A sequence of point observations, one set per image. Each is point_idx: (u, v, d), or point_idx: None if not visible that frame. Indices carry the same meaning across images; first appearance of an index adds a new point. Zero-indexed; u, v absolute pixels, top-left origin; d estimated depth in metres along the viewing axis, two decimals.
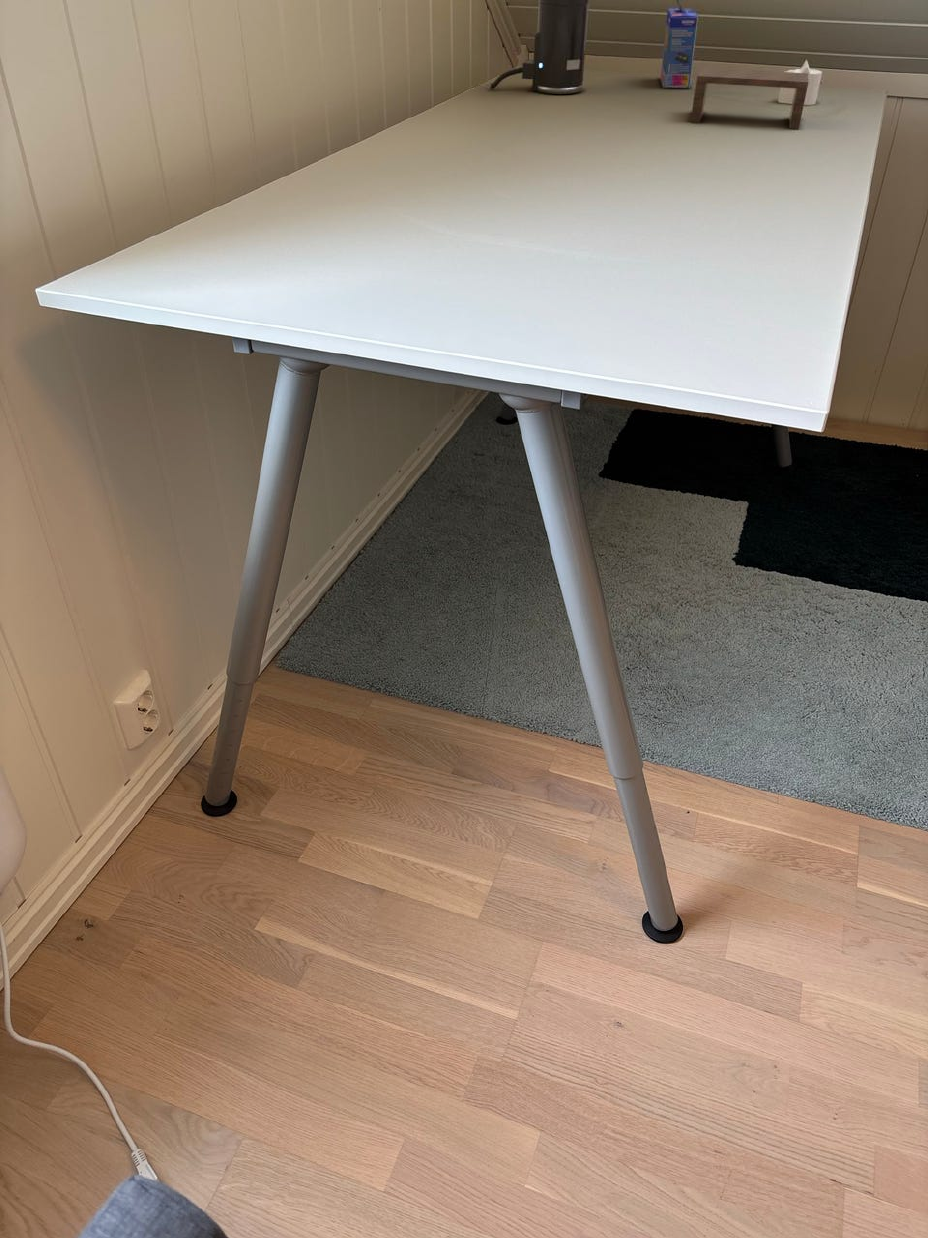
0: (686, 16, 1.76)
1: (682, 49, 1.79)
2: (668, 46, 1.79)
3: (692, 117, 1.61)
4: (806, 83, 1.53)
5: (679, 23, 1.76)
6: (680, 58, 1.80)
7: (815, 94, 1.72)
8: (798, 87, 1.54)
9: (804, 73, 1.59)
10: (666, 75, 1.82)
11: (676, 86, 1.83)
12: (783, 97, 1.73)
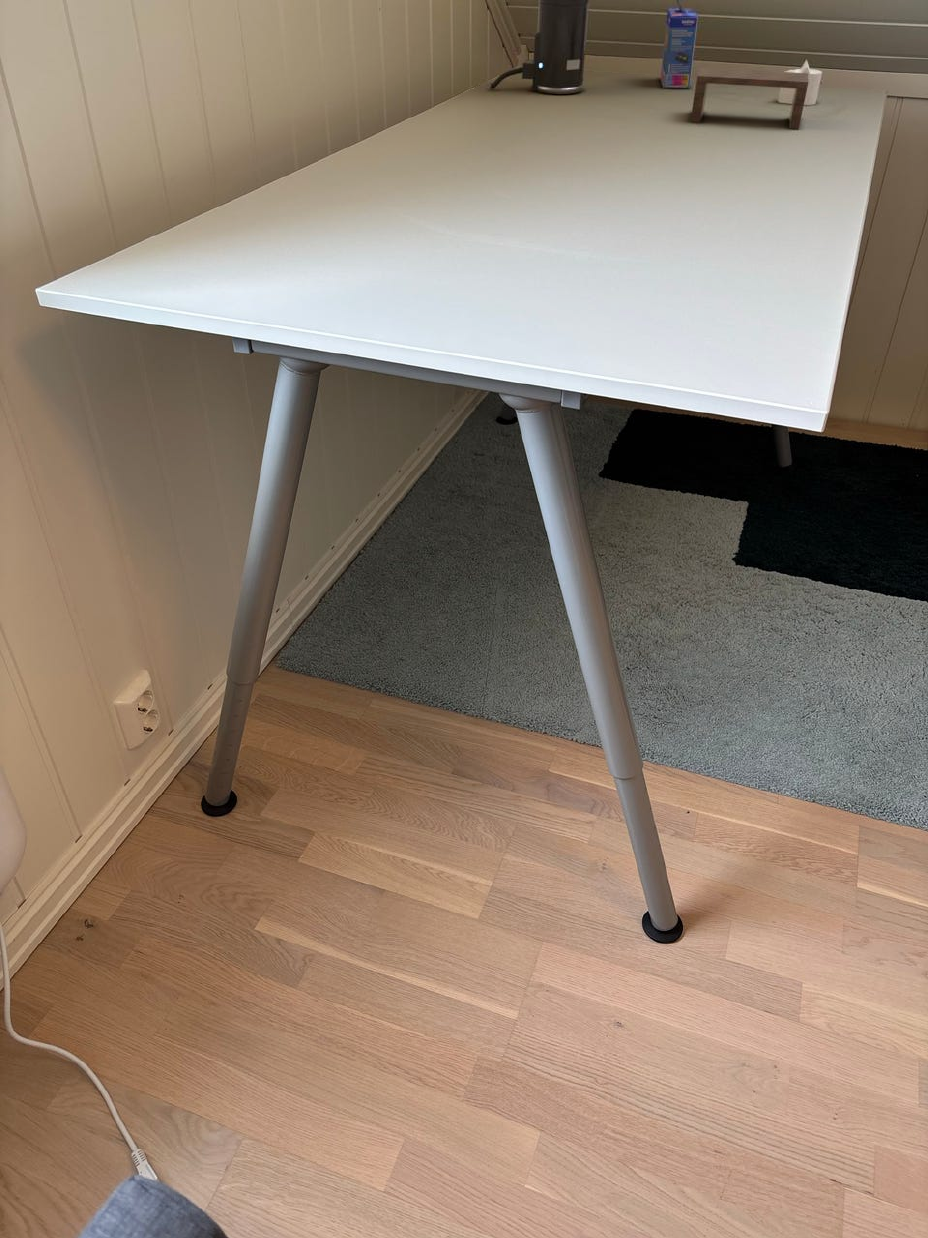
0: (686, 16, 1.76)
1: (682, 49, 1.79)
2: (668, 46, 1.79)
3: (692, 117, 1.61)
4: (806, 83, 1.53)
5: (679, 23, 1.76)
6: (680, 58, 1.80)
7: (815, 94, 1.72)
8: (798, 87, 1.54)
9: (804, 73, 1.59)
10: (666, 75, 1.82)
11: (676, 86, 1.83)
12: (783, 97, 1.73)
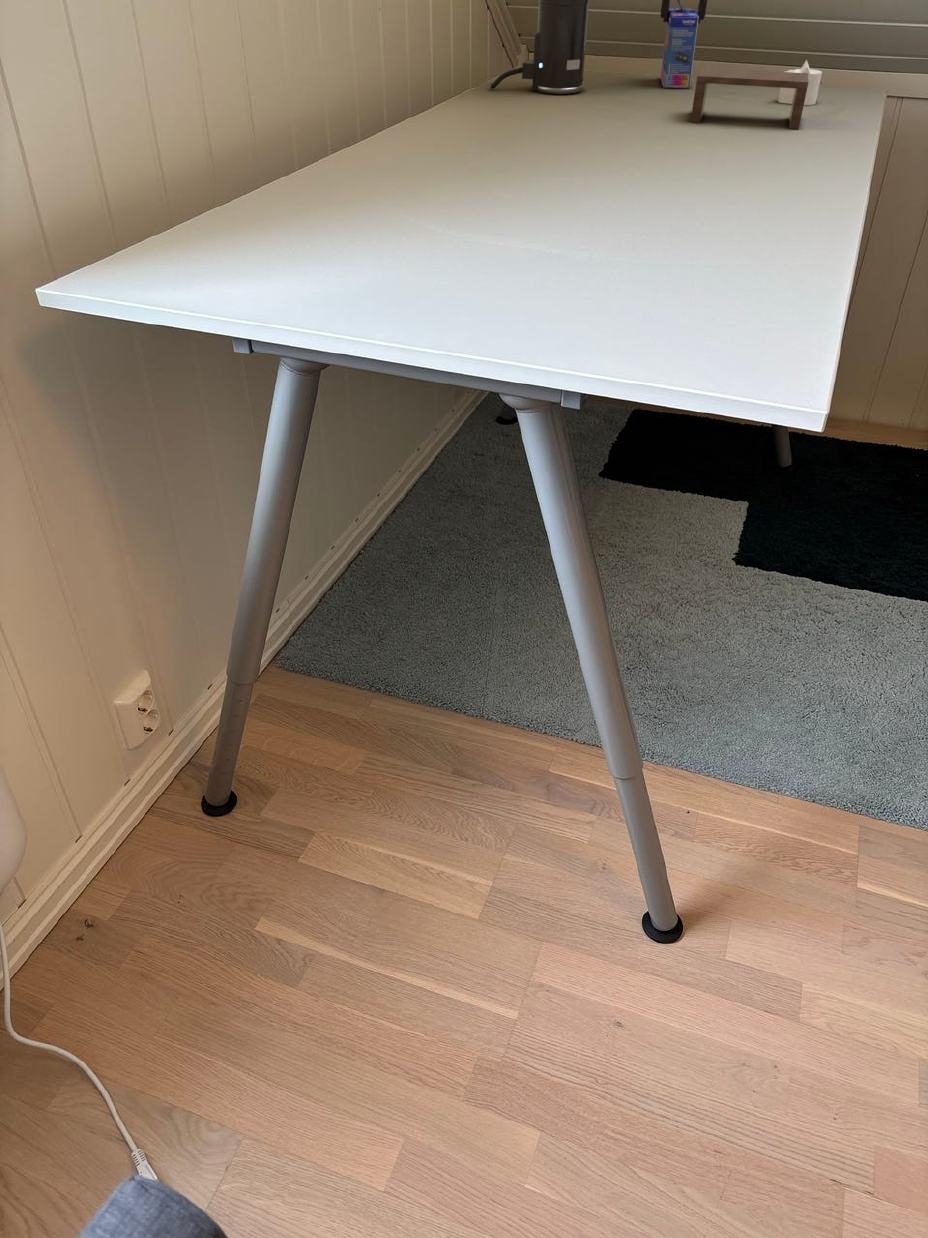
0: (687, 16, 1.76)
1: (682, 49, 1.79)
2: (668, 46, 1.79)
3: (692, 117, 1.61)
4: (806, 83, 1.53)
5: (680, 23, 1.76)
6: (680, 58, 1.80)
7: (815, 94, 1.72)
8: (798, 87, 1.54)
9: (804, 73, 1.59)
10: (666, 75, 1.82)
11: (676, 86, 1.83)
12: (783, 97, 1.73)
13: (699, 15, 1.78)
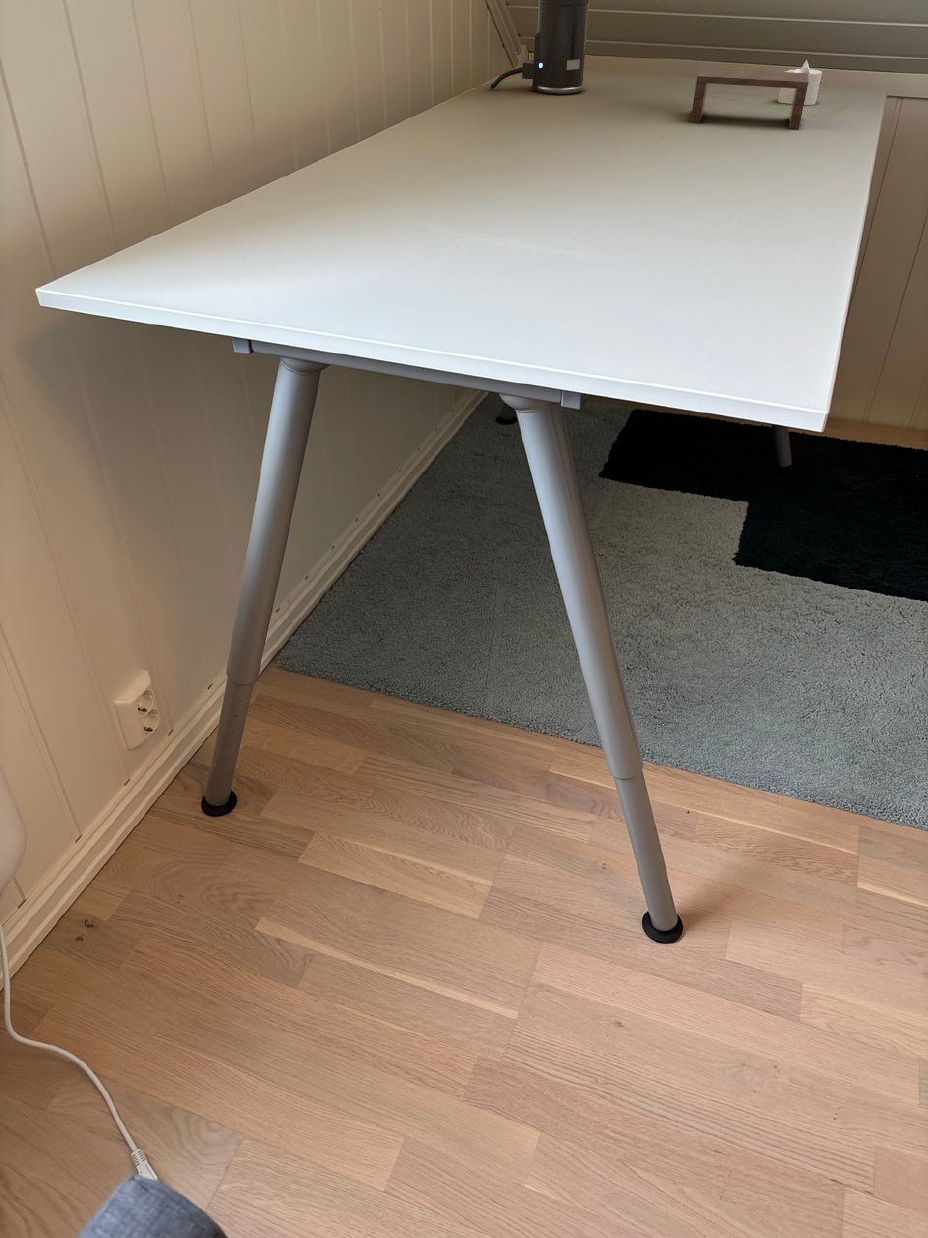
0: None
1: None
2: None
3: (692, 117, 1.61)
4: (806, 83, 1.53)
5: None
6: None
7: (815, 94, 1.72)
8: (798, 87, 1.54)
9: (804, 73, 1.59)
10: None
11: None
12: (783, 97, 1.73)
13: None
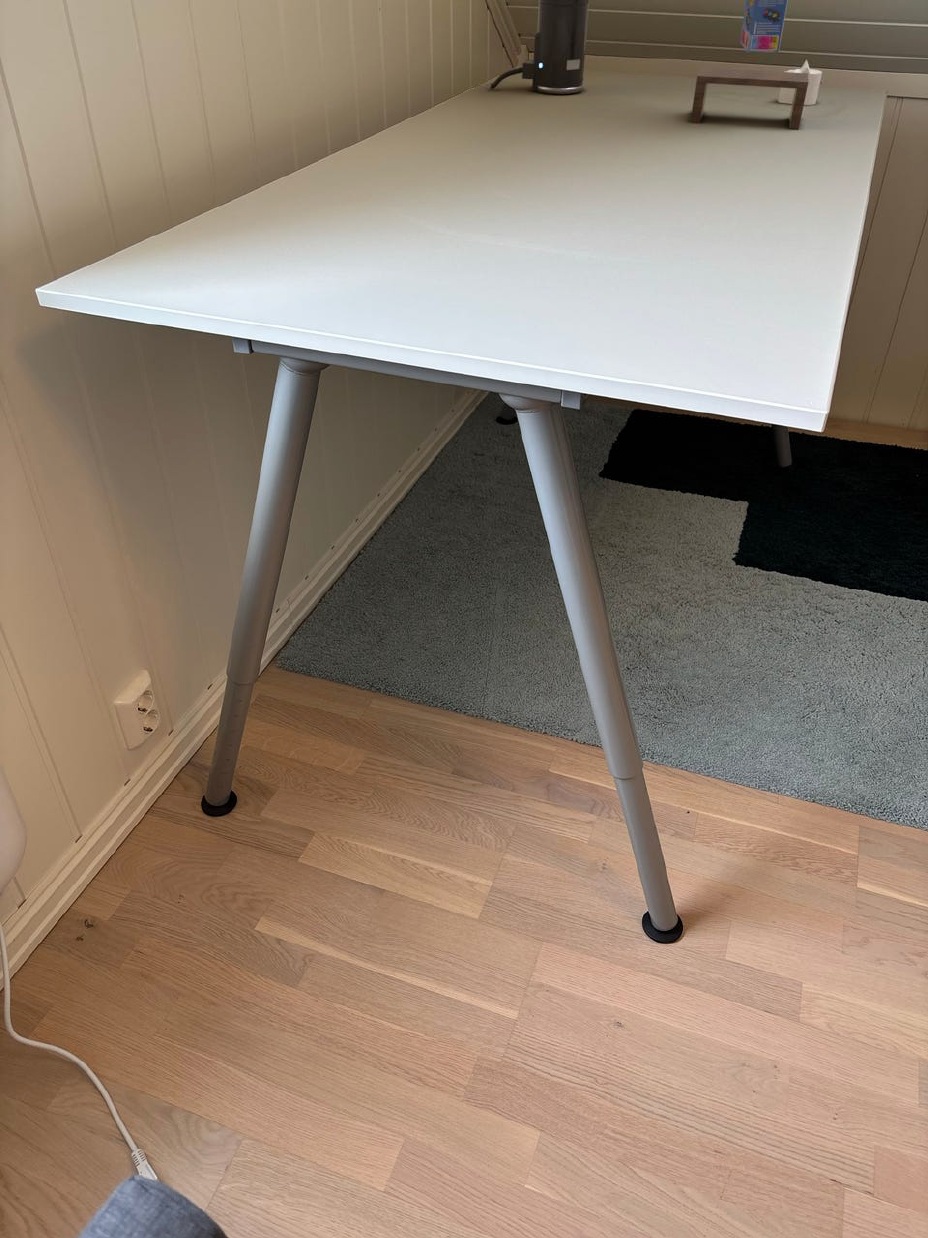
0: None
1: (772, 4, 1.48)
2: (755, 0, 1.48)
3: (692, 117, 1.61)
4: (806, 83, 1.53)
5: None
6: (769, 16, 1.49)
7: (815, 94, 1.72)
8: (798, 87, 1.54)
9: (804, 73, 1.59)
10: (751, 36, 1.51)
11: (762, 50, 1.52)
12: (783, 97, 1.73)
13: None
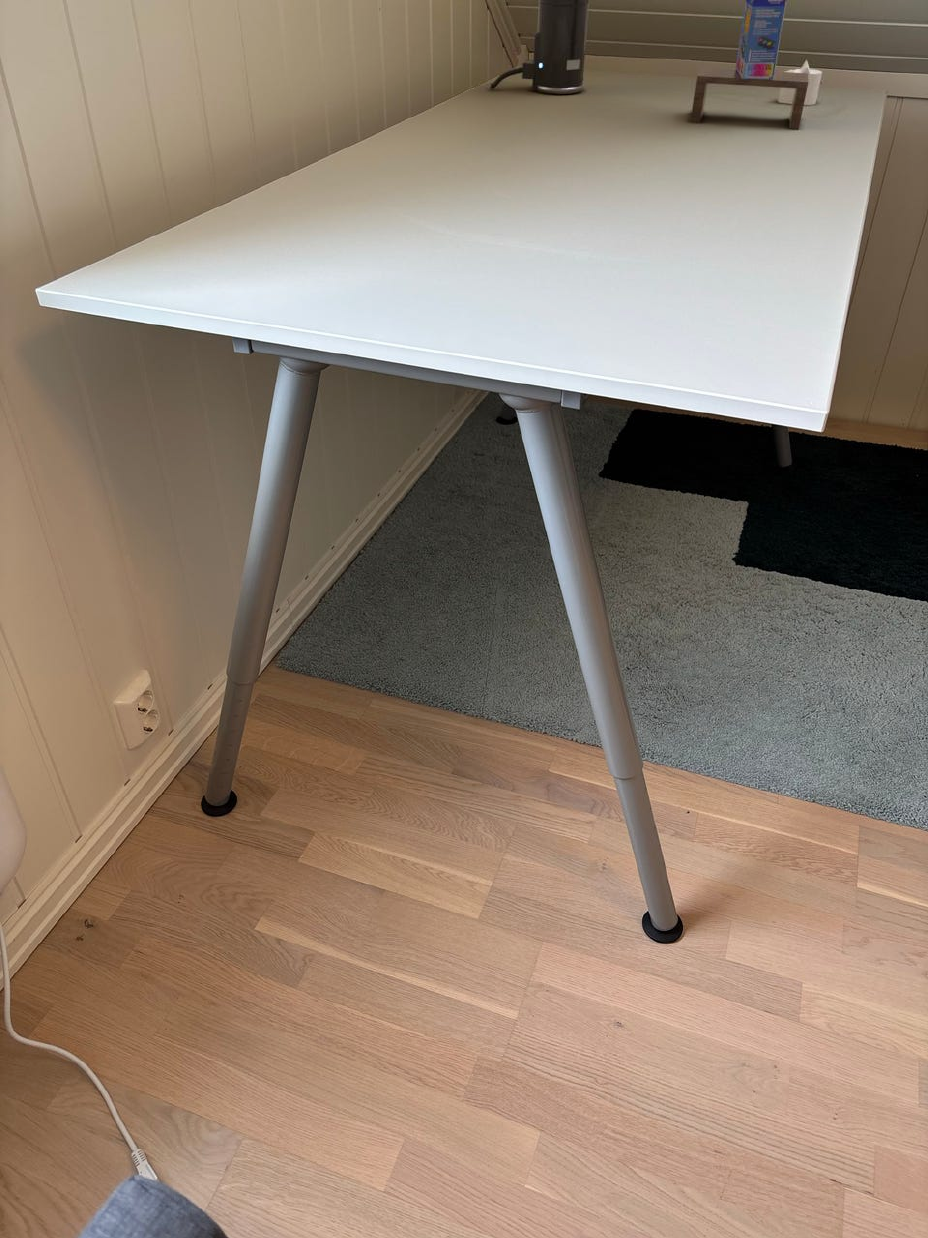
0: None
1: (766, 33, 1.50)
2: (750, 29, 1.50)
3: (692, 117, 1.61)
4: (806, 83, 1.53)
5: (764, 2, 1.48)
6: (763, 44, 1.51)
7: (815, 94, 1.72)
8: (798, 87, 1.54)
9: (804, 73, 1.59)
10: (746, 64, 1.53)
11: (757, 77, 1.54)
12: (783, 97, 1.73)
13: None
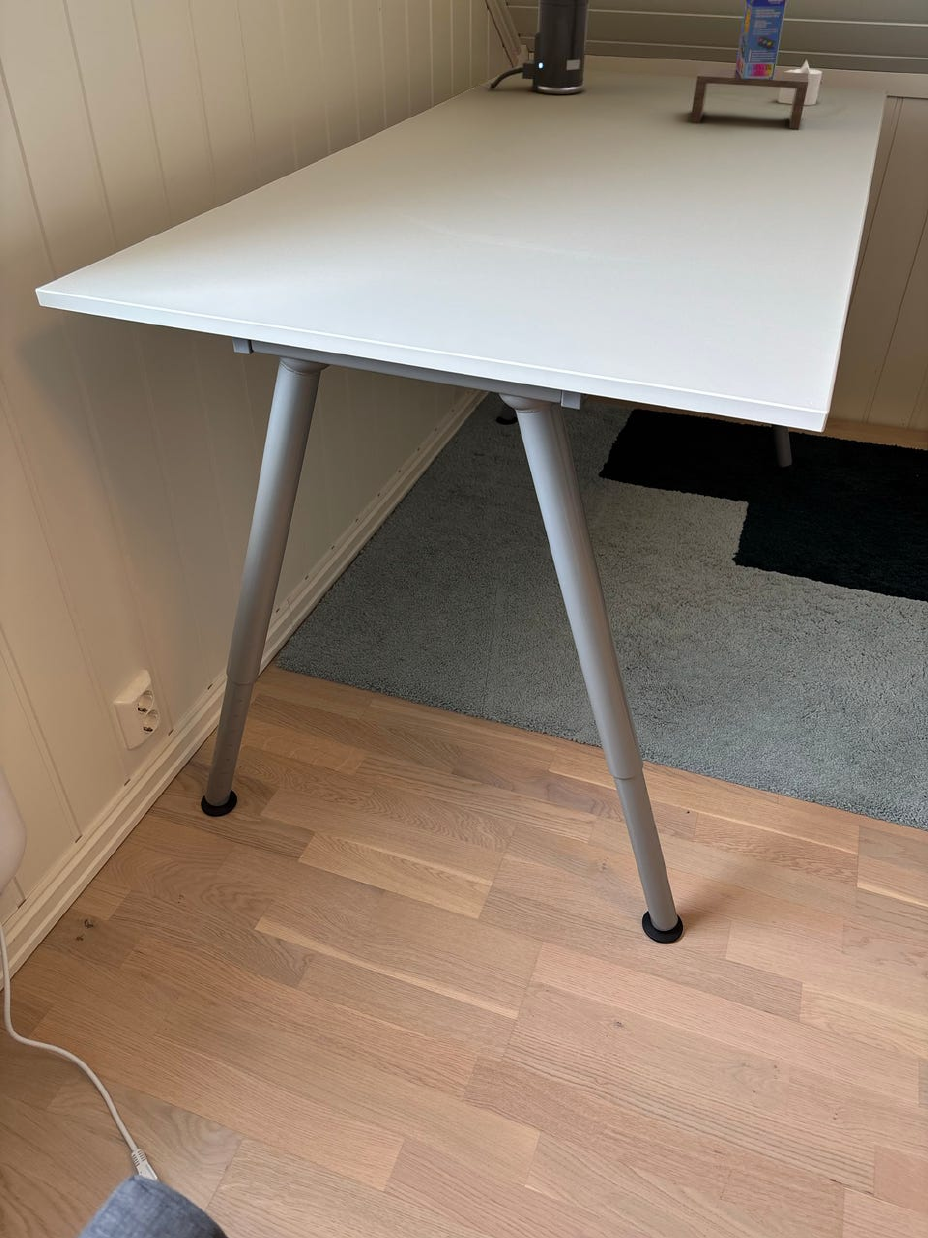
0: None
1: (766, 33, 1.50)
2: (750, 29, 1.50)
3: (692, 117, 1.61)
4: (806, 83, 1.53)
5: (764, 2, 1.48)
6: (763, 44, 1.51)
7: (815, 94, 1.72)
8: (798, 87, 1.54)
9: (804, 73, 1.59)
10: (746, 64, 1.53)
11: (757, 77, 1.54)
12: (783, 97, 1.73)
13: None
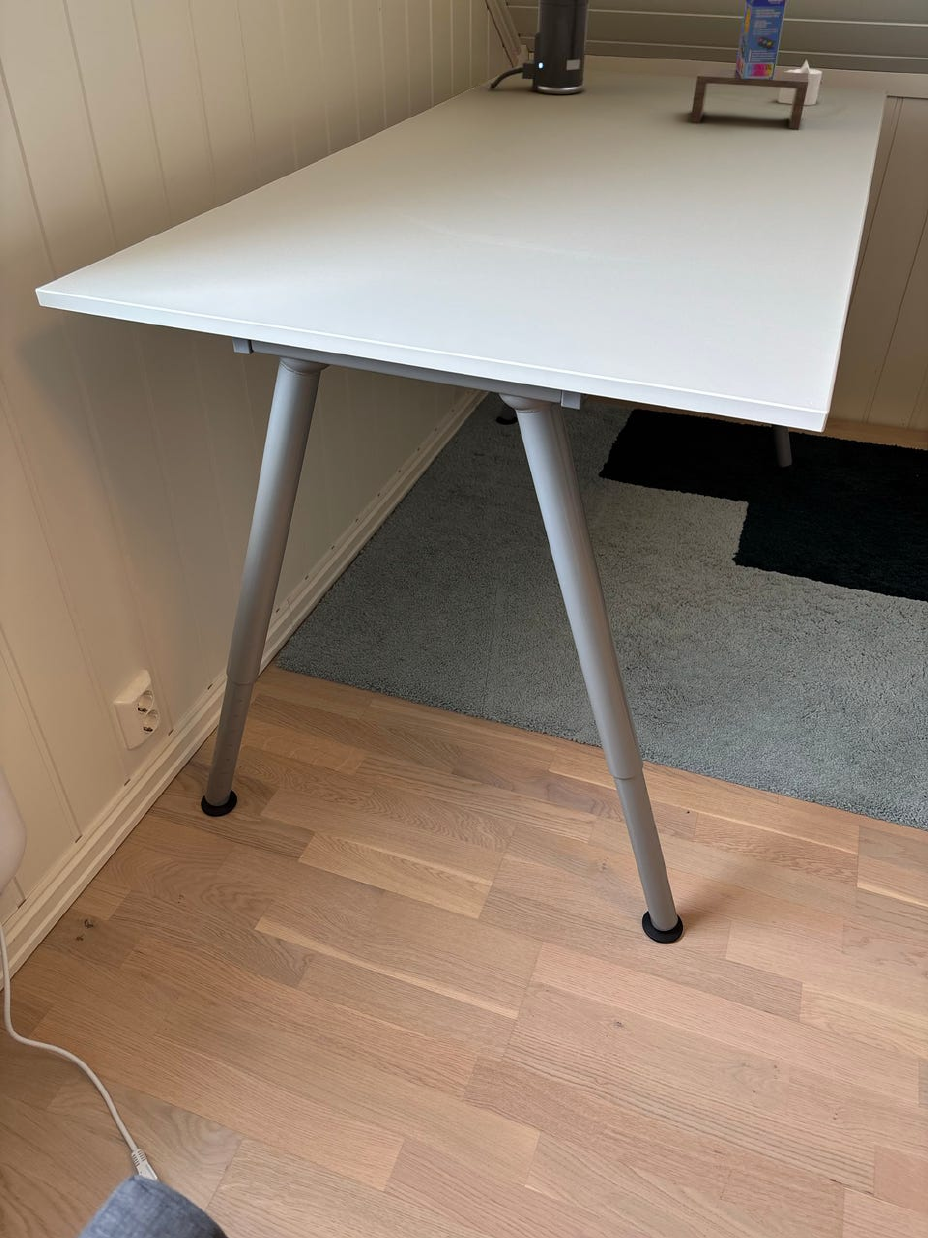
0: None
1: (766, 33, 1.50)
2: (750, 29, 1.50)
3: (692, 117, 1.61)
4: (806, 83, 1.53)
5: (764, 2, 1.48)
6: (763, 44, 1.51)
7: (815, 94, 1.72)
8: (798, 87, 1.54)
9: (804, 73, 1.59)
10: (746, 64, 1.53)
11: (757, 77, 1.54)
12: (783, 97, 1.73)
13: None
